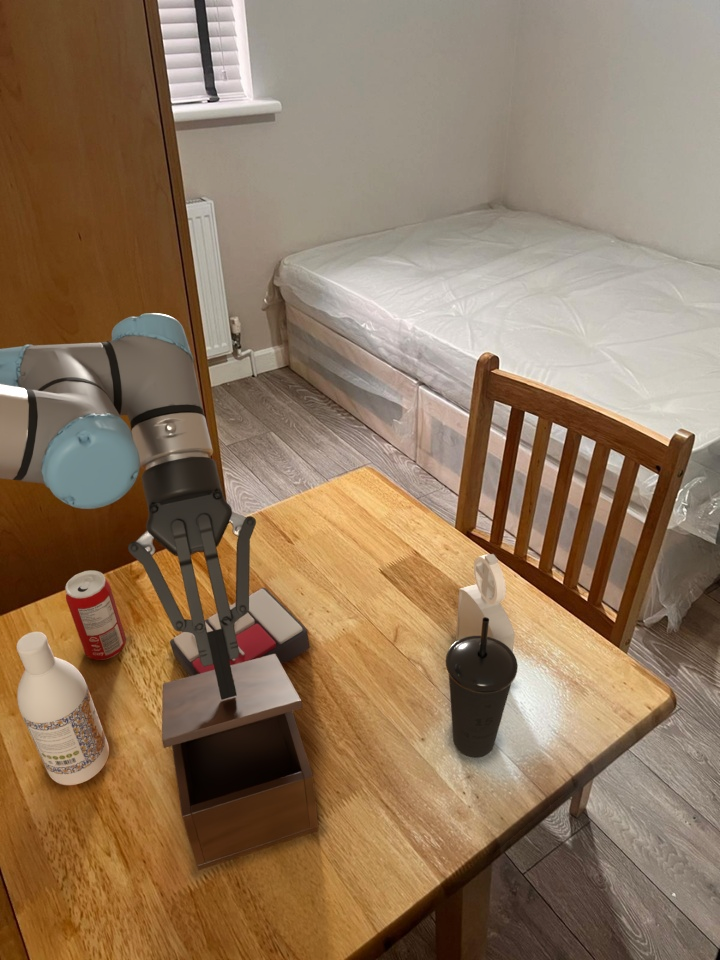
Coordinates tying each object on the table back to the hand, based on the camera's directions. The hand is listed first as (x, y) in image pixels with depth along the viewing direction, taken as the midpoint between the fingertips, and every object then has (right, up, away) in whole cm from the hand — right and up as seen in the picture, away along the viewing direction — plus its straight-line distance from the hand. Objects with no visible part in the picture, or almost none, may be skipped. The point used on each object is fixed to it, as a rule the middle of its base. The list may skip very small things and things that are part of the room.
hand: (228, 696), depth 71 cm
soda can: (-22, -2, +29) cm, 36 cm away
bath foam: (-20, -12, +15) cm, 27 cm away
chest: (0, -13, +11) cm, 17 cm away
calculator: (-3, -2, +28) cm, 28 cm away
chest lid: (-1, -1, +4) cm, 4 cm away
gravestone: (+29, -3, +25) cm, 38 cm away
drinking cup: (+26, -10, +15) cm, 32 cm away
